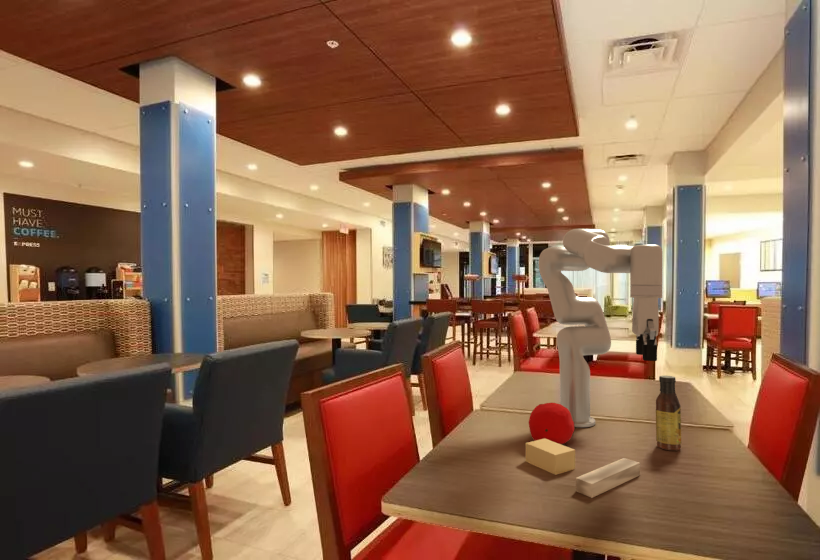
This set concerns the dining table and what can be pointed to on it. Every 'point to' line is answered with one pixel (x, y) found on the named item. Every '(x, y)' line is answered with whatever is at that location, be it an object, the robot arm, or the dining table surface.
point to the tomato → (551, 423)
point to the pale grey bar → (607, 477)
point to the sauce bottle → (668, 415)
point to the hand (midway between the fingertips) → (646, 357)
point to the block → (550, 456)
